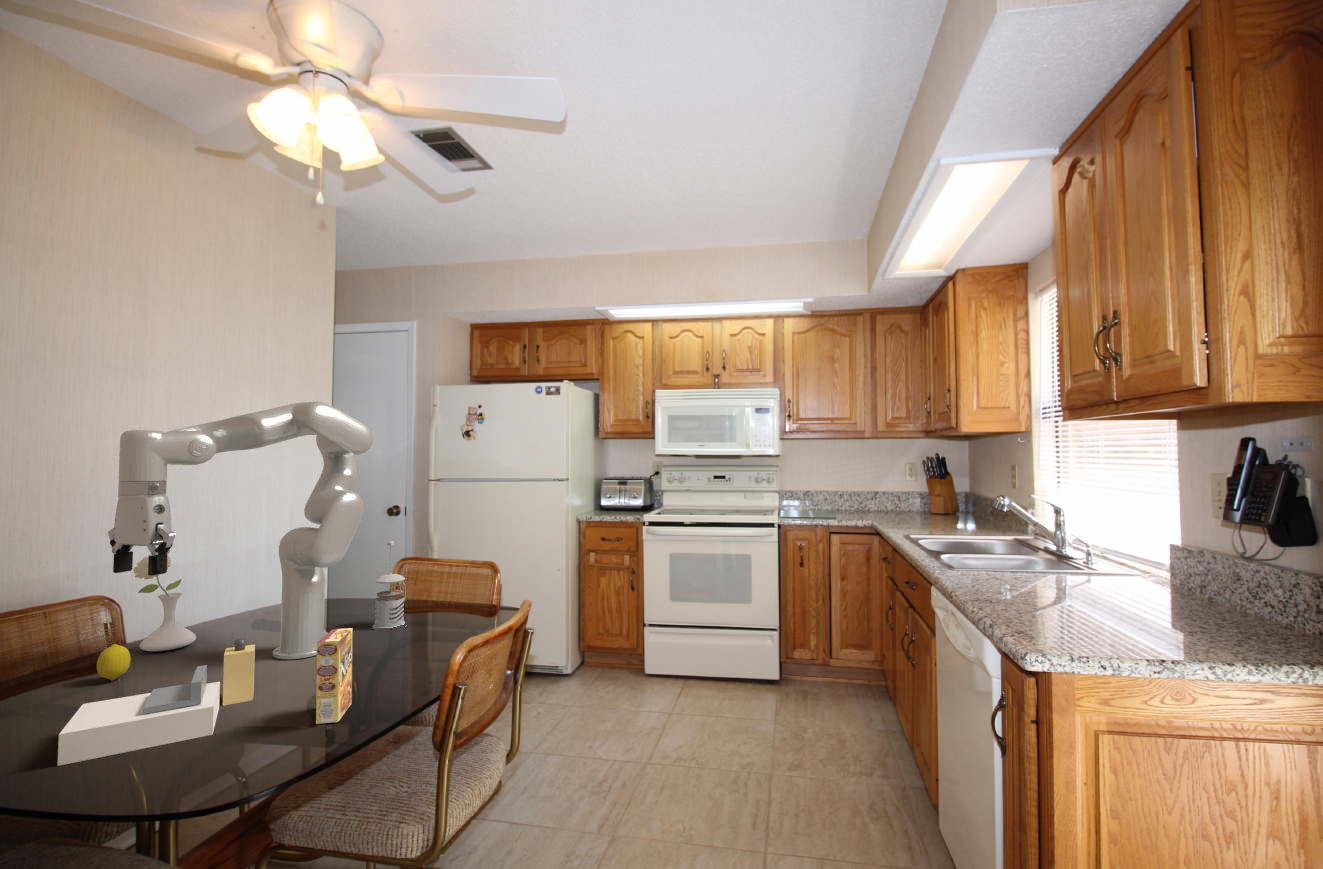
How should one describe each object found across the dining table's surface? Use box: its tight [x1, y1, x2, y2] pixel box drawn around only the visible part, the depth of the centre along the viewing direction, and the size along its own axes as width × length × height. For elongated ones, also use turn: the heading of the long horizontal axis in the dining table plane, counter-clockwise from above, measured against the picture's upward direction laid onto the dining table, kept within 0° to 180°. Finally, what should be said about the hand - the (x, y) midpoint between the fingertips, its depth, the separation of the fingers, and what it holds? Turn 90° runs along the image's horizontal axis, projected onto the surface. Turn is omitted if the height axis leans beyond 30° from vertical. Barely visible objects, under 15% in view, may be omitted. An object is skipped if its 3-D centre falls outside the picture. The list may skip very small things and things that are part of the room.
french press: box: [372, 540, 407, 628], centre depth 176 cm, size 10×12×25 cm
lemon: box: [96, 643, 131, 682], centre depth 132 cm, size 6×6×8 cm
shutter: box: [143, 664, 208, 714], centre depth 109 cm, size 8×10×4 cm
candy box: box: [315, 627, 353, 725], centre depth 115 cm, size 9×4×15 cm, turn 13°
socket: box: [57, 681, 221, 767], centre depth 107 cm, size 20×14×5 cm
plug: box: [222, 638, 256, 707], centre depth 122 cm, size 5×5×12 cm
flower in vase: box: [132, 553, 197, 652], centre depth 154 cm, size 13×11×25 cm
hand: (140, 573), depth 122 cm, fingers open, 9 cm apart
